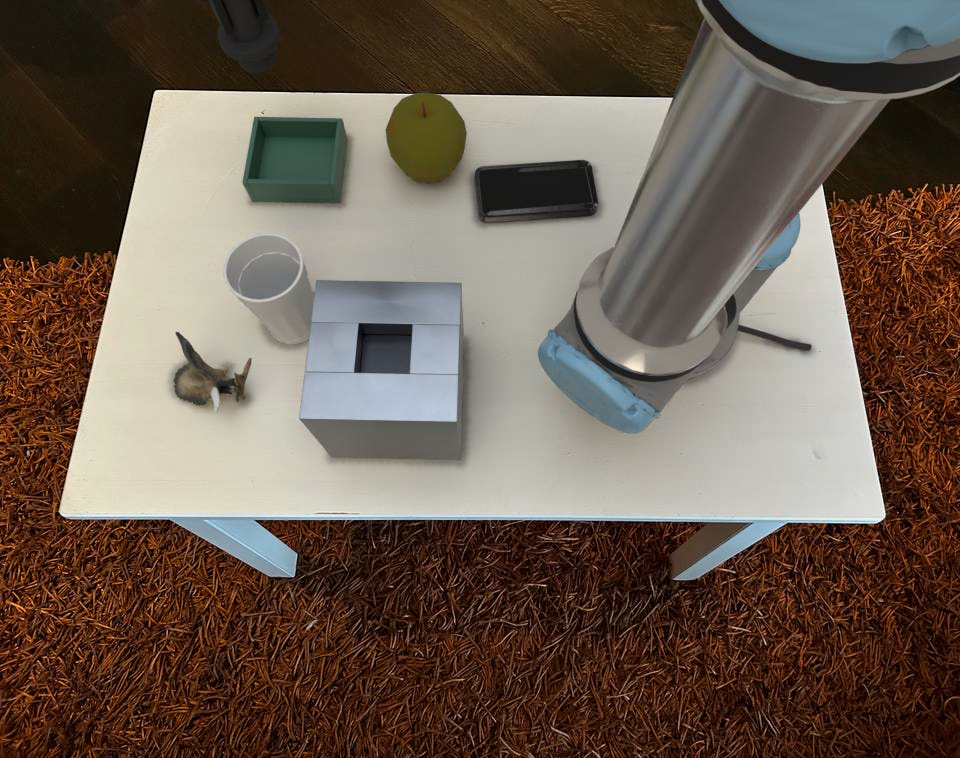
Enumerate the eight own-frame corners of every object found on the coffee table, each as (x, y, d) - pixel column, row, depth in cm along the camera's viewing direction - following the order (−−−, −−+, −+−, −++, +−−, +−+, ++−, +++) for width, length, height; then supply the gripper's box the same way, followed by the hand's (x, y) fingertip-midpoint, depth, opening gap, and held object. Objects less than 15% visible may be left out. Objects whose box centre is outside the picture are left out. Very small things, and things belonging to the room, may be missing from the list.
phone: (599, 209, 81) (479, 217, 80) (597, 215, 82) (479, 223, 81) (590, 158, 84) (474, 165, 83) (588, 164, 85) (474, 171, 84)
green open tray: (347, 139, 86) (342, 117, 82) (340, 203, 82) (334, 184, 79) (263, 137, 86) (254, 116, 82) (252, 201, 82) (242, 182, 79)
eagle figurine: (265, 351, 74) (188, 323, 73) (242, 364, 67) (156, 334, 66) (247, 411, 75) (171, 385, 75) (222, 430, 68) (139, 401, 68)
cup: (317, 356, 75) (289, 308, 64) (251, 343, 75) (211, 293, 64) (336, 296, 78) (313, 240, 66) (272, 284, 78) (238, 226, 67)
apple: (471, 192, 83) (471, 131, 73) (395, 201, 82) (384, 140, 72) (461, 131, 87) (459, 64, 76) (388, 138, 86) (377, 72, 76)
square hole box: (464, 342, 76) (461, 282, 62) (460, 460, 70) (457, 421, 57) (343, 340, 76) (316, 279, 62) (331, 457, 70) (298, 418, 57)
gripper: (215, -365, 44) (301, -35, 66) (-23, -300, 41) (150, 23, 63) (259, -311, 42) (333, 12, 64) (10, -239, 39) (178, 74, 61)
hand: (242, 17), depth 63 cm, fingers closed on plug, 3 cm apart
